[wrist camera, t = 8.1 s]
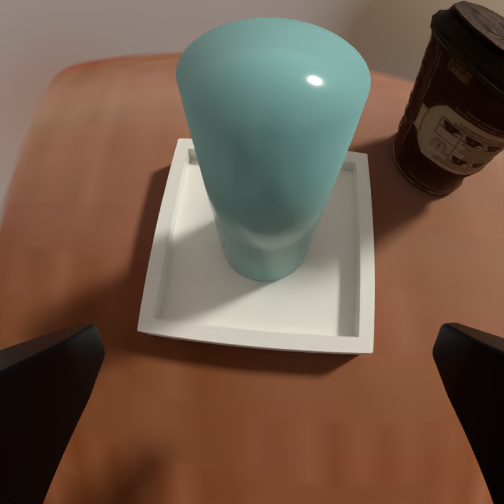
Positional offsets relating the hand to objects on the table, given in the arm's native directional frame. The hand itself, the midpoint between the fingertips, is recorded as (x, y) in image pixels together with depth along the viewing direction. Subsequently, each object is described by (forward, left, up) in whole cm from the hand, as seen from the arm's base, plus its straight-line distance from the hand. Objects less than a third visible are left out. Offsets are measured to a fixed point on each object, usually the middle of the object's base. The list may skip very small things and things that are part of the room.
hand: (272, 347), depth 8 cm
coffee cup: (+14, -11, -11) cm, 21 cm away
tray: (+6, +1, -10) cm, 12 cm away
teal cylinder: (+6, +1, -9) cm, 11 cm away
